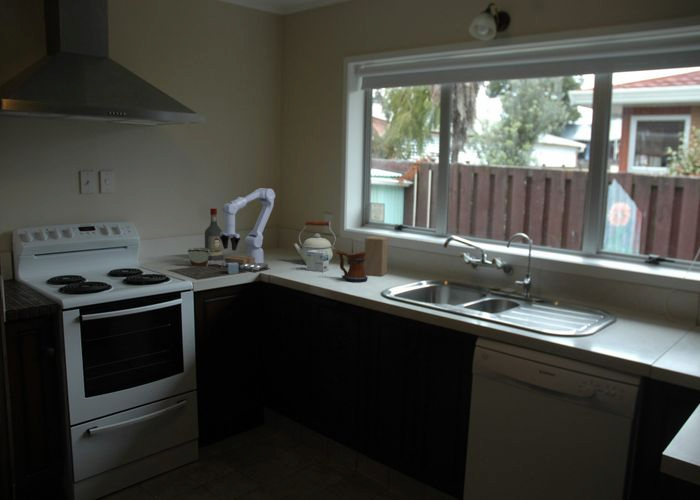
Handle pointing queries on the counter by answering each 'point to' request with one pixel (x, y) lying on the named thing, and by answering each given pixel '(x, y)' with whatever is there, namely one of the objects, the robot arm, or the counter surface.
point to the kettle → (315, 242)
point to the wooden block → (376, 255)
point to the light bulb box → (318, 260)
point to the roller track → (249, 267)
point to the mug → (353, 266)
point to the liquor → (214, 238)
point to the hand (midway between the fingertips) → (229, 249)
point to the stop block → (233, 268)
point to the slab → (240, 259)
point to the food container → (198, 257)
